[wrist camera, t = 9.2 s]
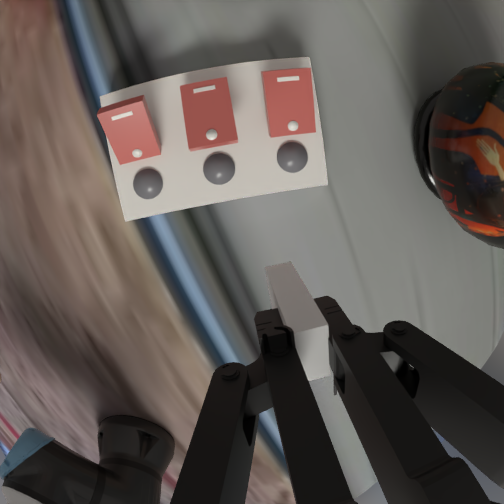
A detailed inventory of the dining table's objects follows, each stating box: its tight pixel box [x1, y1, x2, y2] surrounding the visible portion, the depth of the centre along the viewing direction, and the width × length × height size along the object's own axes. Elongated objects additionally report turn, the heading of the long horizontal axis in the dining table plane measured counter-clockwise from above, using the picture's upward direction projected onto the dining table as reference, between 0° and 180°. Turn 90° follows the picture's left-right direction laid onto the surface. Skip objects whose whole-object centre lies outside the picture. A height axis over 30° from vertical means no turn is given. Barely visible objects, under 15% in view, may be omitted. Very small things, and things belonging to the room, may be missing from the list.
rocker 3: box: [261, 68, 316, 138], centre depth 27 cm, size 4×6×3 cm
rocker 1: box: [97, 95, 162, 165], centre depth 26 cm, size 4×6×3 cm
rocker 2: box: [180, 77, 238, 152], centre depth 27 cm, size 4×6×3 cm
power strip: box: [100, 57, 328, 222], centre depth 31 cm, size 22×14×3 cm, turn 99°
